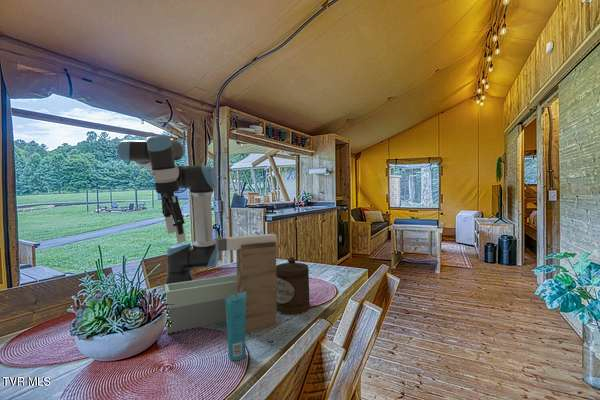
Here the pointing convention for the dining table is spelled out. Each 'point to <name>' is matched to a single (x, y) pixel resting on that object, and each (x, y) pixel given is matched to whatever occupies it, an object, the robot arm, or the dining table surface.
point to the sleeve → (242, 241)
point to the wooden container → (292, 287)
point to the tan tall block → (258, 284)
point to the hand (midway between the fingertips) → (176, 237)
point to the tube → (236, 324)
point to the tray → (198, 302)
